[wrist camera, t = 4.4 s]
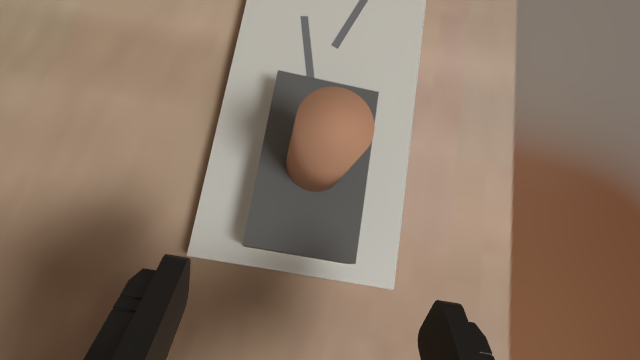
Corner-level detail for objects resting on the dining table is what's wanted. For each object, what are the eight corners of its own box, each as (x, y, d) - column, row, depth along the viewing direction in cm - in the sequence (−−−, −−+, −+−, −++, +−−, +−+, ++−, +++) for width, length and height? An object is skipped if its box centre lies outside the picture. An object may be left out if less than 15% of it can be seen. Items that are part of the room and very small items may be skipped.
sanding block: (346, 264, 23) (393, 263, 15) (244, 246, 22) (234, 235, 14) (368, 107, 25) (419, 31, 17) (276, 87, 25) (283, -1, 17)
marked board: (385, 288, 25) (393, 289, 23) (191, 256, 23) (186, 255, 22) (425, -55, 31) (433, -71, 29) (272, -95, 29) (273, -114, 28)
